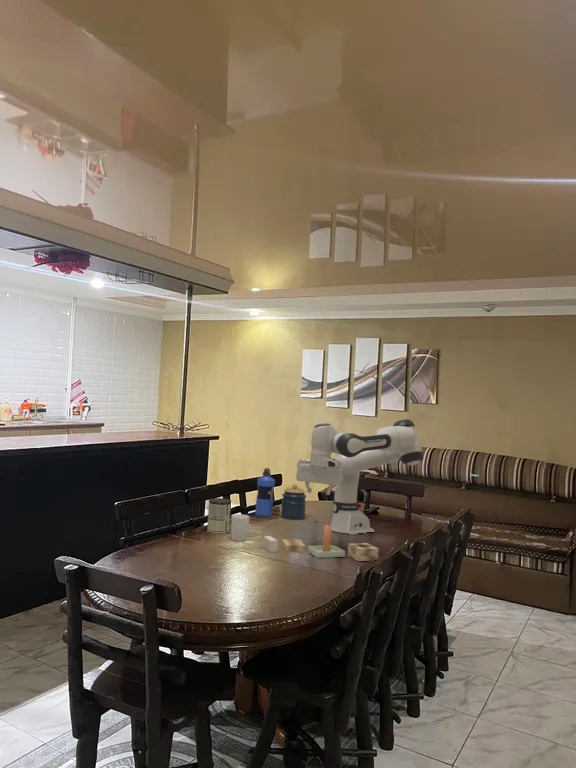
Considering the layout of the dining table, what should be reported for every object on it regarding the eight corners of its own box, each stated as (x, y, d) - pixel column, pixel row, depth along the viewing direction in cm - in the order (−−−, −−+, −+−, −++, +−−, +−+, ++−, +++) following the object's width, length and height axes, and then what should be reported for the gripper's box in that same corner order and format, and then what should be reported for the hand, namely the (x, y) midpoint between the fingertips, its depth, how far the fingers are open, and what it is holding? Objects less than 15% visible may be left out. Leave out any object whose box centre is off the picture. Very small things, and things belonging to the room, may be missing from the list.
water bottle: (274, 514, 313) (277, 468, 314) (269, 517, 304) (272, 469, 305) (258, 512, 316) (261, 466, 317) (252, 515, 307) (256, 468, 308)
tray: (333, 551, 243) (333, 545, 244) (344, 557, 234) (345, 551, 234) (307, 552, 239) (308, 545, 239) (318, 558, 230) (318, 552, 230)
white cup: (251, 539, 254) (252, 516, 255) (242, 542, 247) (244, 518, 248) (235, 536, 258) (237, 513, 258) (226, 539, 251) (228, 516, 251)
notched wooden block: (300, 546, 248) (300, 539, 249) (304, 553, 239) (305, 545, 239) (281, 546, 247) (282, 539, 247) (285, 552, 237) (286, 545, 237)
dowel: (329, 551, 238) (331, 525, 239) (330, 554, 235) (332, 526, 235) (321, 551, 238) (323, 524, 238) (323, 553, 235) (324, 526, 235)
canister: (282, 514, 316) (284, 481, 317) (306, 516, 315) (308, 483, 315) (278, 518, 304) (281, 484, 304) (303, 521, 302) (305, 487, 302)
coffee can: (204, 528, 269) (207, 497, 269) (226, 528, 272) (228, 498, 272) (208, 533, 259) (211, 502, 259) (231, 533, 262) (233, 502, 263)
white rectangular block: (269, 546, 243) (270, 536, 243) (276, 551, 236) (277, 540, 236) (263, 546, 242) (263, 536, 242) (269, 552, 235) (270, 540, 235)
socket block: (366, 554, 241) (367, 542, 241) (377, 561, 233) (378, 548, 233) (347, 555, 238) (348, 543, 238) (358, 561, 229) (359, 549, 229)
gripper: (295, 459, 248) (293, 491, 248) (341, 464, 242) (339, 497, 241) (299, 458, 254) (297, 490, 254) (345, 462, 247) (343, 495, 247)
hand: (318, 493), depth 247 cm, fingers open, 7 cm apart
